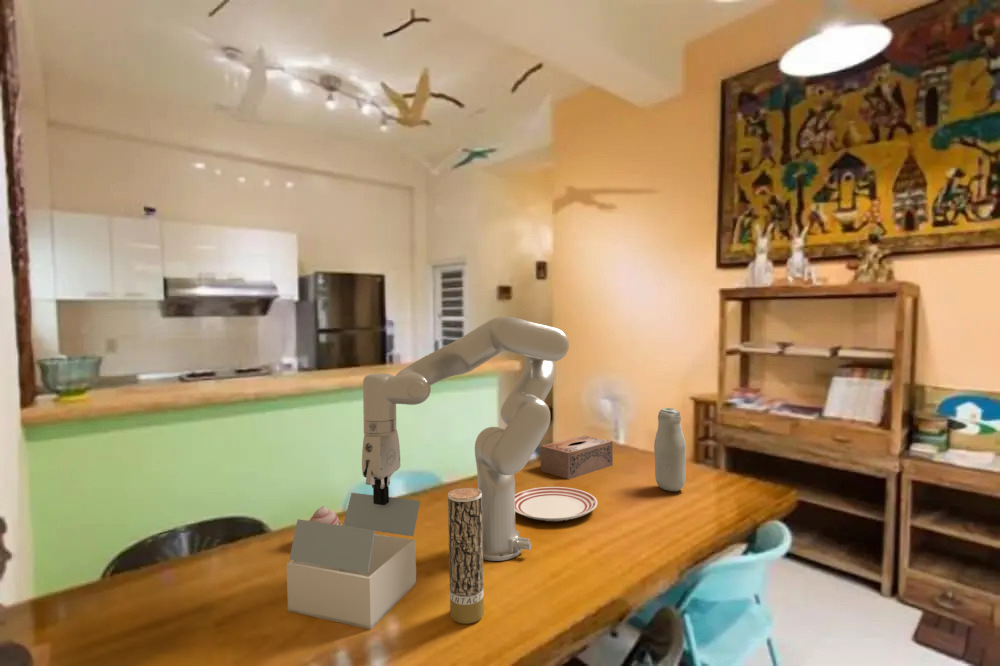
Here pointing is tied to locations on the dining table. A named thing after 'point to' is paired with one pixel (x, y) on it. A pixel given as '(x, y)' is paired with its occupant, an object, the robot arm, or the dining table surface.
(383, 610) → the carton
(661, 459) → the glass bottle
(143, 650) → the dining table surface
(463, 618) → the paper tube
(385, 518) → the flap far
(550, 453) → the tissue box cover
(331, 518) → the cupcake
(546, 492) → the dinner plate
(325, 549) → the flap near
